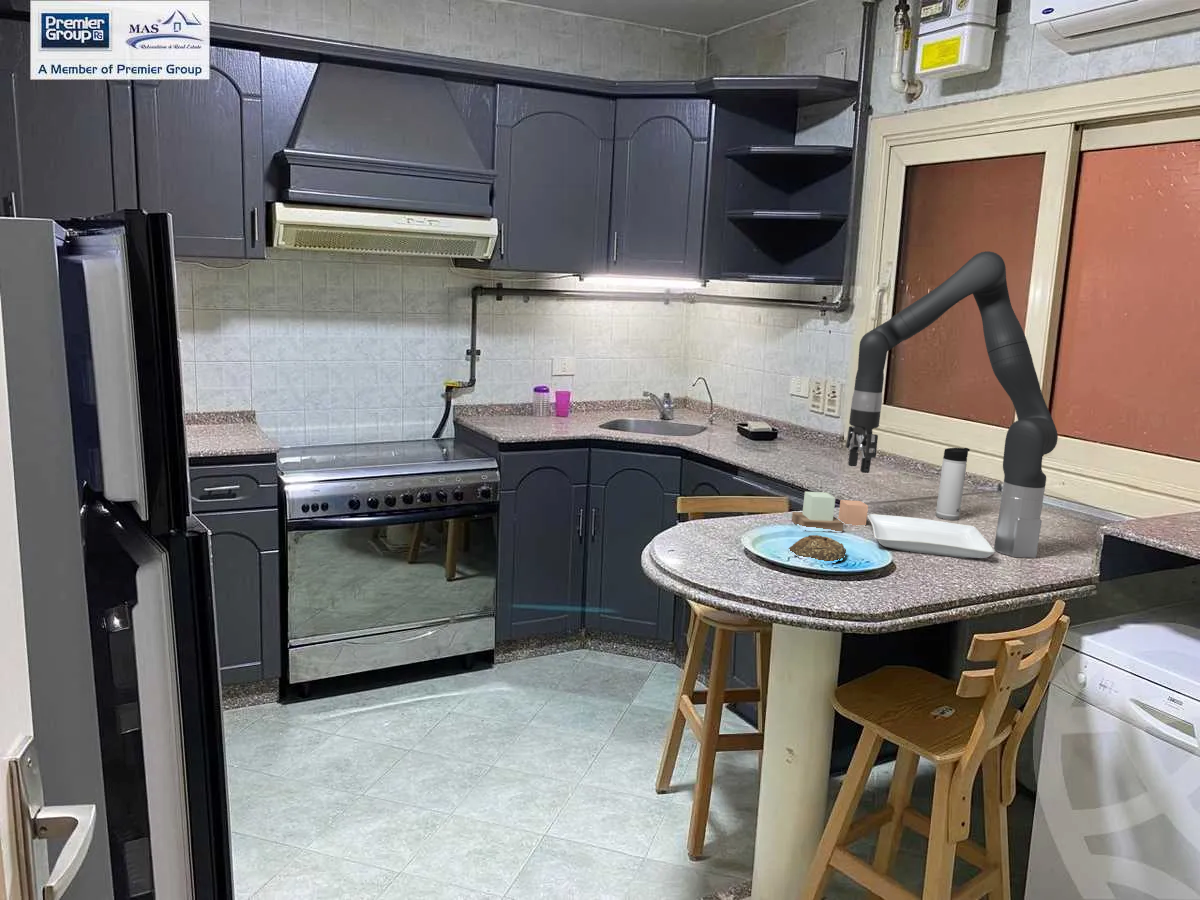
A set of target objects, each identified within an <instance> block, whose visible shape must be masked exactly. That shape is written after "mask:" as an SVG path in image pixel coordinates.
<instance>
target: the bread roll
mask: <svg viewBox="0 0 1200 900" xmlns="http://www.w3.org/2000/svg"><path fill="white" fill-rule="evenodd" d="M788 549H790V551H792V552H794V553H795V554H796V555H799V556H803V557H811V558H815V559H818V560H824V561H834V560H838V559H839V560H840V559H841V558H844V556H845V557H846V555H845V553H846V554H847V549H846V548H845V547H844V544H843V543H841V542H840V541H837V540H835V539H833V538H831V537H828V536H822V535H818V534H813V535H808V536H805V537H802V538H800V539H799V540H797V541H796V542H795V543H793V544H792V545H791V546H790V547H789V548H788ZM844 559H845V558H844Z"/></svg>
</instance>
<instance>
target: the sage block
mask: <svg viewBox="0 0 1200 900" xmlns="http://www.w3.org/2000/svg"><path fill="white" fill-rule="evenodd" d="M835 504H836V497H835V496H833V495H832V494H830V493H829V492H825V491H824V492H822V491H821V492H819V491H804V496H803V504H802V505H803V506H802V512H803V513H802V514H803V515H804V516H806V517H807V518H808V519H810V520H825V521H833V516H834V514H835V513H834V512H835V506H836V505H835Z"/></svg>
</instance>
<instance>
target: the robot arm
mask: <svg viewBox="0 0 1200 900" xmlns="http://www.w3.org/2000/svg"><path fill="white" fill-rule="evenodd" d="M1008 288H1009V287H1008V283H1007V269H1006V263H1005V260H1004V259H1003V257H1002V256H1001V255H999V254H998V253H996V252H994V251H989V250H987V251H981V252H979V253H976V254H975V255H973V256H972V257H971V258H970V259H969V260H967V262H966V263H964V264H963V265H962V266H961V267H960V268H959V269H958V270H957V271H955V273H953V274H952V275H951V276H950V277H948V278H947V279H946V280H945V281H944V282H942V283H941V284H939V285H938V286H937V287H935V288H934V289H932V290H931V291H929V292H928V293H926V294H925V295H924V296H923V295H922V297H920V298H919V299H917V300H916V301H914V302H913V303H911V304H909V305H908V306H906V307H905V308H903V309H902V310H900V311H899V312H897V313H896V314H894V315H893V316H892V317H891V318H890V319H889V320H887V321H885V322H883V323H881V324H880V325H877V326H876V327H875V328H873V329H871V330H870V331H868V332H867V333H865V334H864V335H863V336H862V337H861V339H860V342H859V349H858V362H857V371H856V374H855V375H856V376H855V380H854V381H855V382H854V389H853V393H852V399H851V404H850V412H849V420H848V421H849V425H850V426H849V427H848V431H847V439H846V446H845V448H847V449H848V452H849V453H848V460H847V461H848V463H847V465H848V466H849V467H857V466H858V461H859V460H858V459H859V451H860V453H861V461H860V462H861V463H860V472H861V473H864V474H869V473H870V469H871V463H872V462H871V461H872V459H873V458H874V459H875V458H877V457H876V456H877V449H878V437H879V435H878V434H875V433H874V434H873V430H874V429H877V428H879V426H880V419H881V412H882V411H881V410H882V405H883V404H882V403H883V388H884V379H885V378H884V377H885V376H884V375H885V374H884V373H885V372H884V371H885V367H886V363H887V362H886V361H887V355H888V352H889V351H890V350H892V349H893V348H895V347H896V346H897V345H899V344H900V343H902V342H904V341H906V340H909V339H911V338H913V337H914V336H915V335H917V334H918V333H920V332H922V331H924V330H925V329H926V328H928V327H930V326H931V325H932V324H934V323H935V322H937V320H938V319H939V318H940V317H941V316H943V315H944V314H946V312H948V310H950V309H951V308H952V307H954V306H955V305H956V304H958V303H960V301H962V300H964V299H965V298H967V297H969V296H970V295H973V298H974V301H975V302H976V305H977V307H978V311H979V313H980V317H981V323H982V330H983V336H984V337H983V338H984V343H985V347H986V352H987V356H988V358H989V359H988V360H989V363H990V366H991V369H992V372H993V374H994V376H995V377H996V380H998V383H999V384H1000V385H1001V387H1002V388H1003V389H1004V391H1005V393H1006V394H1007V395H1008V397H1009V398H1010V400H1011V403H1012V405H1013V407H1014V410H1015V414H1016V418H1017V420H1016V421H1014V422H1013V423H1012V424H1011V425H1010V426H1009V428H1008V429H1007V432H1006V436H1005V441H1004V448H1003V449H1004V451H1003V459H1002V471H1003V475H1004V476H1003V477H1004V478H1003V484H1002V491H1001V498H1000V505H999V512H998V518H997V526H996V531H995V532H996V533H995V538H994V539H995V540H994V545H993V549H994V550H995V552H998V553H1000V554H1004V555H1007V556H1011V558H1012V557H1013V558H1034V559H1035V558H1037V554H1038V547H1039V540H1040V535H1041V530H1042V519H1041V515H1042V508H1043V503H1044V496H1045V490H1046V484H1047V475H1046V474H1045V473H1044V472H1043V470H1042V469H1043V468H1042V466H1043V456H1045V455H1047V454H1050V453H1051V452H1053V450H1054V449H1055V448H1056V447H1057V444H1058V438H1059V436H1058V430H1057V427H1056V425H1055V424H1056V423H1055V421H1054V420H1053V417H1052V415H1051V413H1050V410H1049V408H1048V406H1047V403H1046V400H1045V398H1044V396H1043V393H1042V389H1041V385H1040V382H1039V378H1038V374H1037V372H1036V368H1035V364H1034V362H1033V356H1032V354H1031V350H1030V346H1029V343H1028V340H1027V336H1026V334H1025V332H1024V330H1023V327H1022V325H1021V323H1020V320H1019V319H1018V317H1017V315H1016V313H1015V311H1014V309H1013V306H1012V303H1011V298H1010V293H1009V290H1008Z"/></svg>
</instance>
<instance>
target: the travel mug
mask: <svg viewBox="0 0 1200 900" xmlns="http://www.w3.org/2000/svg"><path fill="white" fill-rule="evenodd" d="M969 452H970V448H968V447H964V448H963V447H948V448H945V449H944V451H943V457H942V463H941V471H940V479H939V486H938V493H937V502H936V507H935V508H936V509H935V517H936V516H937V517H936V518H938V517H940V518H939V519H941V518H944V519H943V520H945V519H949V520H948V521H958V520H959V519H960V514H961V506H962V501H963V493H964V492H963V491H964V486H965V478H966V470H967V463H968V455H969Z"/></svg>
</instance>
